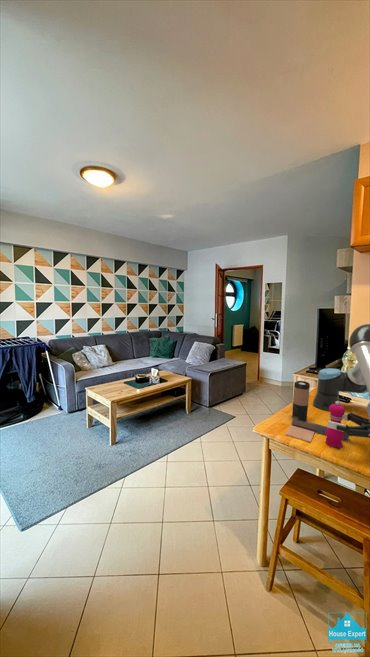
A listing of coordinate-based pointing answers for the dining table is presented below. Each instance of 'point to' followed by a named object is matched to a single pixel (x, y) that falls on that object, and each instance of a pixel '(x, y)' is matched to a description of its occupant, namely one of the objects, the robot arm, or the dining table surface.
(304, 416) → the travel mug
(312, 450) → the dining table surface
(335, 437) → the pepper mill
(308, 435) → the end tile
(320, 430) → the handrail
